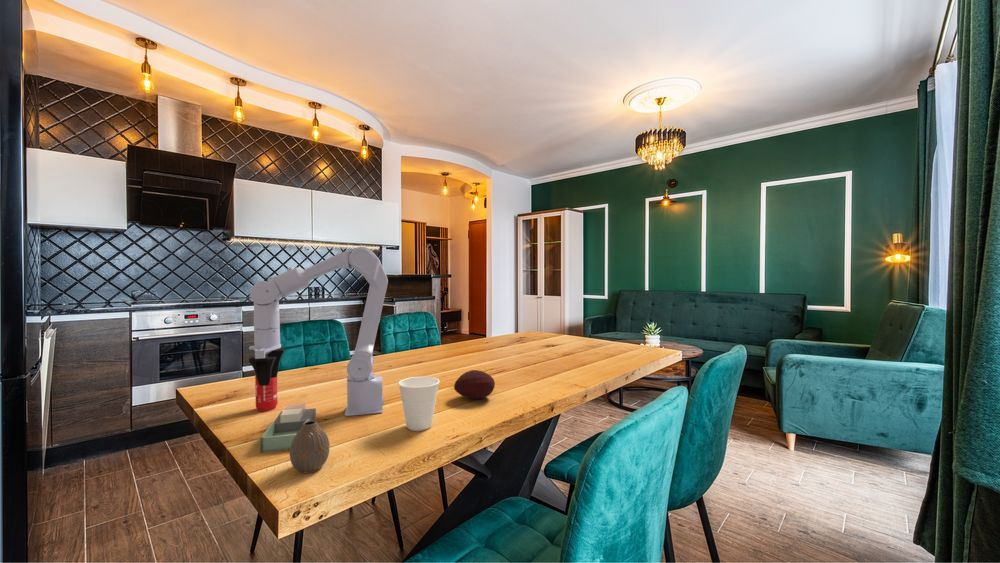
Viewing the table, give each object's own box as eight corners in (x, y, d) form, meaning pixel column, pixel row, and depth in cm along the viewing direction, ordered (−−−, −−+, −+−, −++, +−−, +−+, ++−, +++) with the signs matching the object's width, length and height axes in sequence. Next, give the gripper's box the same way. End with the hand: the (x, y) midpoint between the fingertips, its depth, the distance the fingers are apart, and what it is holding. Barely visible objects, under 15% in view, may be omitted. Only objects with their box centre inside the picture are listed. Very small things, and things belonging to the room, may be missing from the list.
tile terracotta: (305, 409, 102) (305, 402, 102) (302, 414, 98) (302, 407, 98) (288, 411, 101) (288, 404, 101) (284, 416, 97) (284, 409, 97)
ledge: (315, 417, 103) (315, 408, 103) (310, 431, 94) (309, 420, 94) (281, 421, 101) (281, 411, 101) (272, 435, 92) (271, 424, 92)
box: (310, 431, 94) (309, 418, 94) (302, 448, 85) (302, 434, 85) (272, 435, 92) (271, 422, 92) (260, 452, 83) (260, 438, 83)
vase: (281, 473, 75) (280, 426, 74) (310, 457, 81) (310, 414, 81) (309, 480, 72) (308, 431, 72) (337, 463, 79) (337, 418, 78)
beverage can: (267, 412, 107) (267, 368, 107) (251, 411, 108) (250, 367, 108) (281, 406, 112) (281, 363, 112) (265, 405, 113) (265, 362, 113)
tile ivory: (302, 415, 98) (302, 408, 98) (299, 421, 94) (299, 413, 94) (284, 417, 97) (284, 409, 97) (280, 423, 93) (280, 415, 93)
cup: (446, 421, 100) (446, 378, 100) (427, 437, 91) (427, 389, 91) (412, 417, 104) (412, 374, 103) (389, 431, 94) (389, 385, 94)
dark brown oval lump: (502, 398, 119) (502, 370, 119) (475, 408, 111) (475, 378, 111) (475, 390, 127) (475, 364, 127) (448, 399, 118) (448, 371, 118)
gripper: (257, 325, 108) (258, 375, 109) (239, 333, 94) (241, 390, 95) (286, 324, 110) (287, 373, 111) (273, 331, 96) (274, 387, 97)
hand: (268, 381), depth 103 cm, fingers open, 7 cm apart
